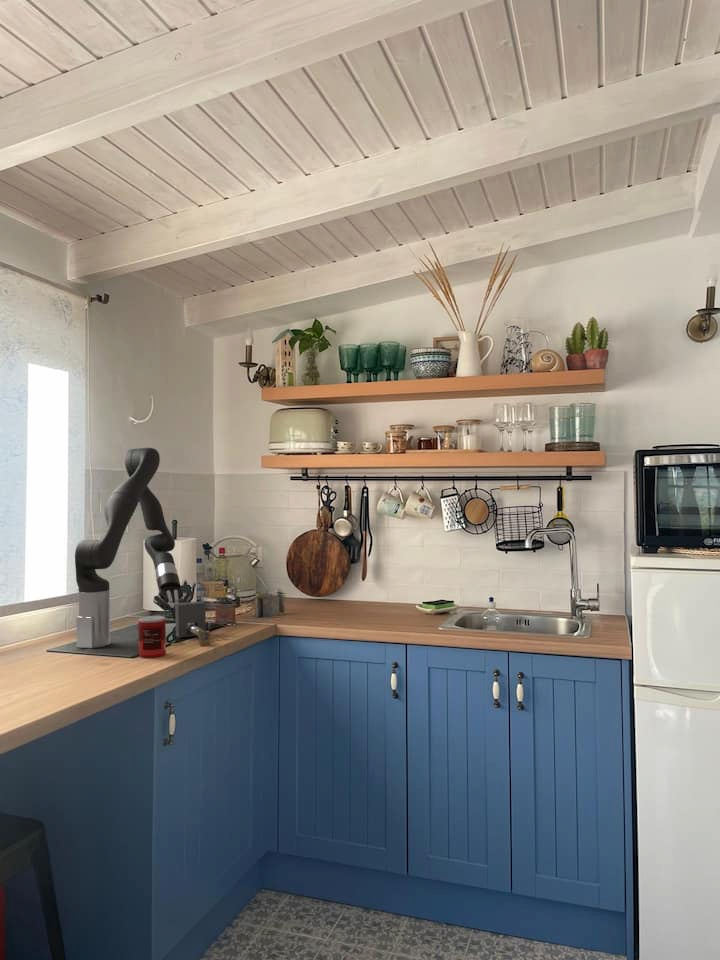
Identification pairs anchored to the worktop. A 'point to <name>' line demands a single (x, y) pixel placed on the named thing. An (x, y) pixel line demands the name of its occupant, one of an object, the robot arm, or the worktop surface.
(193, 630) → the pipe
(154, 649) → the canned food
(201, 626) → the block
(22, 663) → the worktop surface
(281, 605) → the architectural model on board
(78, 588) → the robot arm
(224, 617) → the lighter
